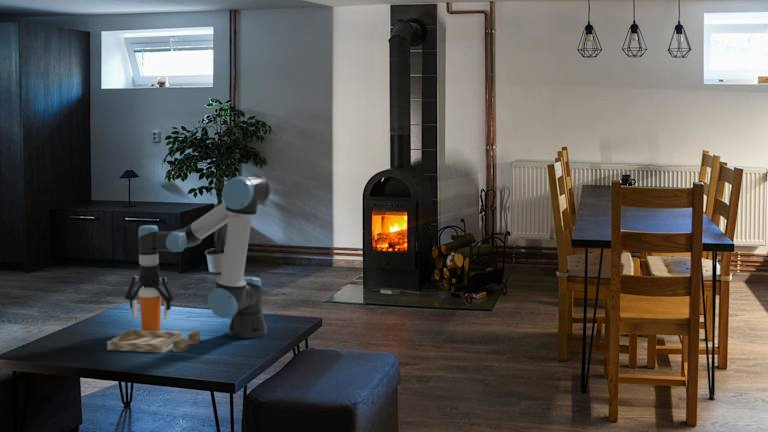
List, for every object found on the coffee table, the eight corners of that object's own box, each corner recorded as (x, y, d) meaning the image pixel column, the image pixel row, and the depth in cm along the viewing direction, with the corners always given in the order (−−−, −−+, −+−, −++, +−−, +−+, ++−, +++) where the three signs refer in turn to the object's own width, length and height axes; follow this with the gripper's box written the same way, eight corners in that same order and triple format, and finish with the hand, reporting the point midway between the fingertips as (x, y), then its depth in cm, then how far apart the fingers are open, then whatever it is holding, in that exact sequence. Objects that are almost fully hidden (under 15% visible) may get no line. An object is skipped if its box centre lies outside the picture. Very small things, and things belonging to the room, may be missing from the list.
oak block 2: (200, 341, 327) (199, 331, 326) (198, 344, 323) (198, 333, 322) (189, 341, 326) (189, 331, 326) (188, 344, 322) (188, 334, 322)
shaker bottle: (156, 336, 332) (154, 287, 330) (135, 335, 334) (133, 286, 332) (166, 331, 341) (165, 282, 339) (146, 330, 343) (144, 281, 341)
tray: (182, 339, 328) (182, 332, 328) (163, 352, 311) (163, 344, 310) (129, 337, 332) (128, 329, 331) (107, 349, 314) (107, 341, 314)
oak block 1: (188, 349, 315) (187, 339, 315) (182, 352, 311) (182, 341, 311) (178, 348, 316) (178, 338, 316) (172, 351, 313) (172, 340, 312)
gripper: (182, 263, 336) (184, 316, 339) (124, 261, 340) (125, 313, 343) (175, 267, 329) (176, 320, 331) (115, 265, 333) (117, 318, 335)
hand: (150, 317), depth 337 cm, fingers open, 13 cm apart
